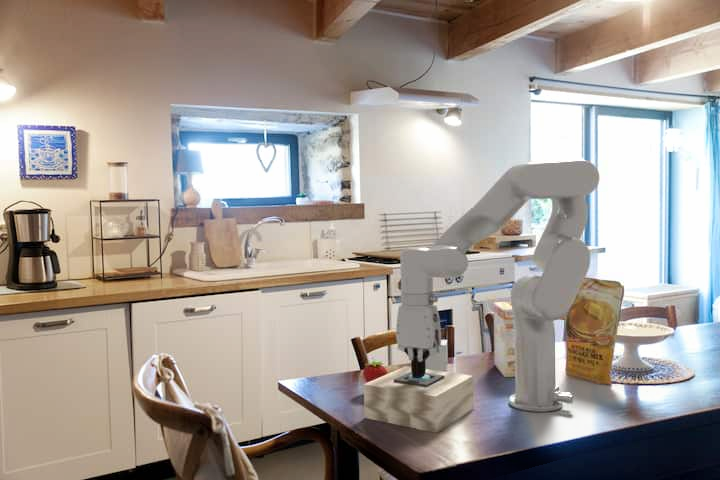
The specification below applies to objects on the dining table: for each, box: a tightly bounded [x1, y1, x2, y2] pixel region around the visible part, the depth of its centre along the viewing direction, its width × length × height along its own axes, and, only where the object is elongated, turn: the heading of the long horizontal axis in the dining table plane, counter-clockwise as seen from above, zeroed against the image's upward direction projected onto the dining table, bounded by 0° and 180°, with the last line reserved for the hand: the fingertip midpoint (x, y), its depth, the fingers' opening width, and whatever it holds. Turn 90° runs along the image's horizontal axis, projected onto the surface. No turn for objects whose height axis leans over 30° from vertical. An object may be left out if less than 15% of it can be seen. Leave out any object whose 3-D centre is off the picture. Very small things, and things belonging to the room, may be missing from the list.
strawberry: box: [363, 356, 388, 383], centre depth 165 cm, size 6×8×10 cm
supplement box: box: [425, 339, 449, 372], centre depth 168 cm, size 7×7×13 cm
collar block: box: [363, 365, 475, 433], centre depth 148 cm, size 19×19×9 cm
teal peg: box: [409, 374, 430, 382], centre depth 148 cm, size 5×5×7 cm
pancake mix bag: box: [564, 276, 625, 386], centre depth 173 cm, size 7×19×28 cm, turn 27°
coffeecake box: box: [493, 301, 515, 378], centre depth 184 cm, size 15×7×20 cm, turn 179°
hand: (418, 376), depth 148 cm, fingers closed
